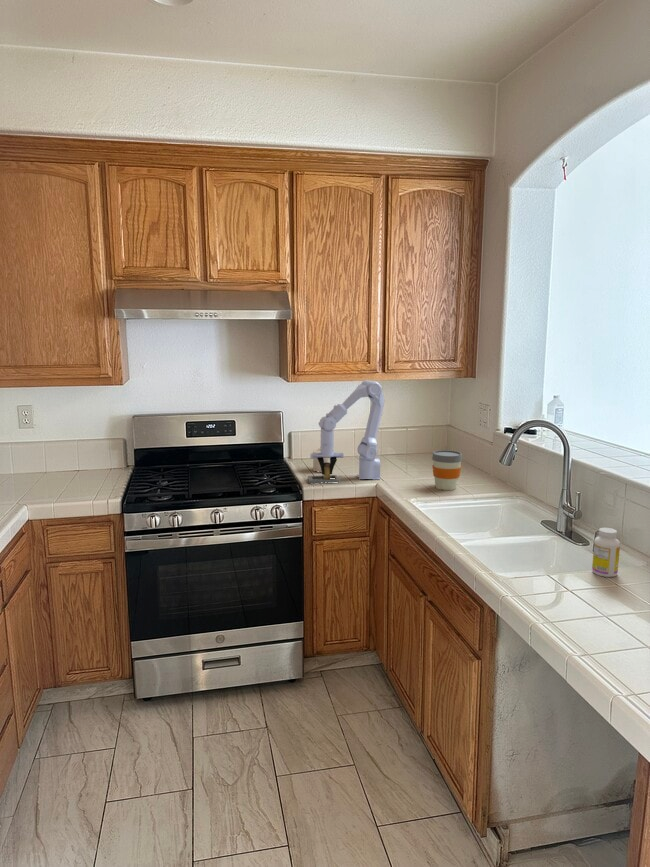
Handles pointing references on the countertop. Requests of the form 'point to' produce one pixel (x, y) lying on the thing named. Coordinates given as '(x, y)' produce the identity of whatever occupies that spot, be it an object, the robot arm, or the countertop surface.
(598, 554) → the supplement bottle
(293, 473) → the countertop surface
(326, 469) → the peg
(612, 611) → the countertop surface
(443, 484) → the reusable coffee cup
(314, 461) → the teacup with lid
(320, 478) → the keyhole plate
